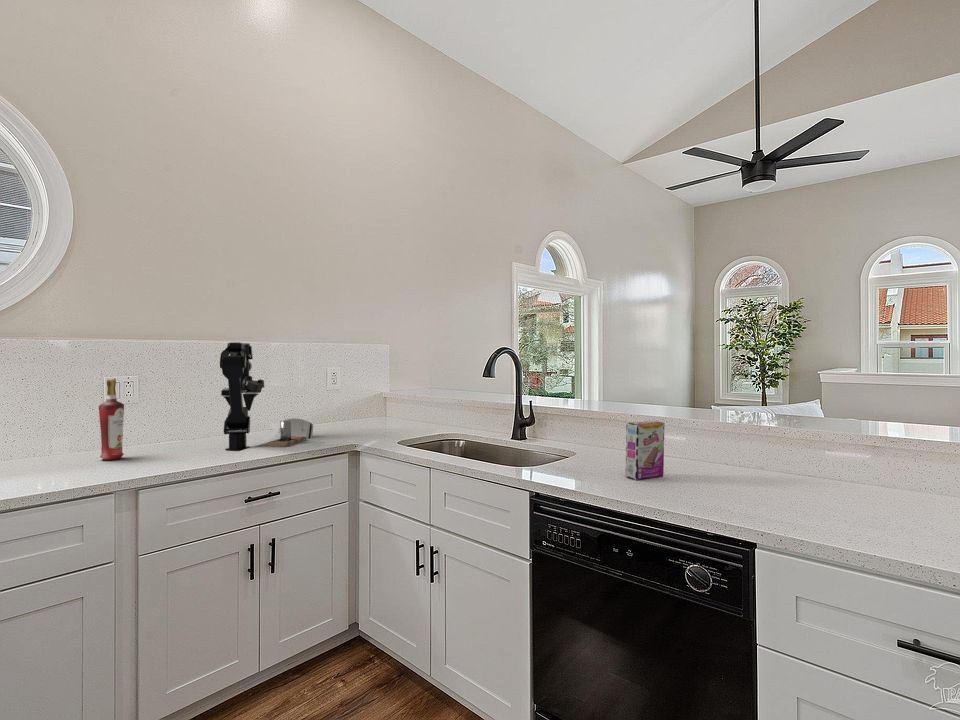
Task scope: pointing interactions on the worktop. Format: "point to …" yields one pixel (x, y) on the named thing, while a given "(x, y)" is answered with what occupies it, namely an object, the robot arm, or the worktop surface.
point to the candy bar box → (644, 450)
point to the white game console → (299, 428)
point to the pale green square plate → (313, 444)
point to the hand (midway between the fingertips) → (241, 411)
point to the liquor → (111, 424)
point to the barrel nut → (285, 430)
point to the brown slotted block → (286, 442)
